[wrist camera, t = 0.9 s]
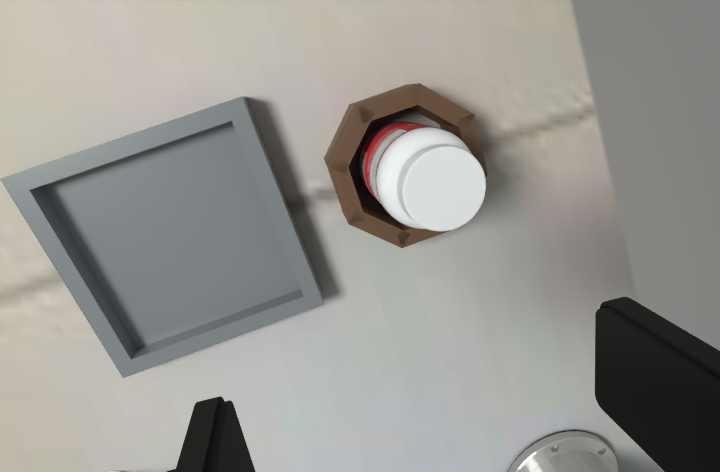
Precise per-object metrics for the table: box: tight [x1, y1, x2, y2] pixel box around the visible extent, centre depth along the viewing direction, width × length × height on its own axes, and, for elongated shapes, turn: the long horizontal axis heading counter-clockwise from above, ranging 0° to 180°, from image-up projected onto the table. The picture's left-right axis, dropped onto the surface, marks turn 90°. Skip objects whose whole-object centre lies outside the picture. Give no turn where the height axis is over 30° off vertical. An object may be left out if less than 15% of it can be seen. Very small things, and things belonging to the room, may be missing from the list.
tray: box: [0, 97, 324, 378], centre depth 32 cm, size 16×16×2 cm
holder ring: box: [324, 83, 487, 248], centre depth 32 cm, size 10×10×4 cm
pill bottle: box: [359, 122, 486, 231], centre depth 29 cm, size 6×6×11 cm
